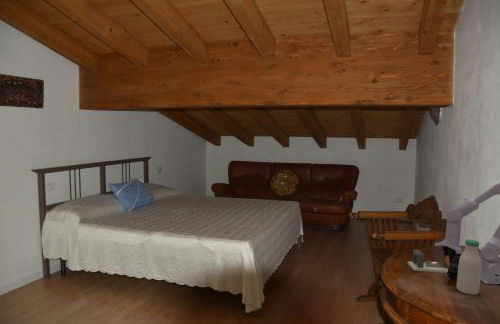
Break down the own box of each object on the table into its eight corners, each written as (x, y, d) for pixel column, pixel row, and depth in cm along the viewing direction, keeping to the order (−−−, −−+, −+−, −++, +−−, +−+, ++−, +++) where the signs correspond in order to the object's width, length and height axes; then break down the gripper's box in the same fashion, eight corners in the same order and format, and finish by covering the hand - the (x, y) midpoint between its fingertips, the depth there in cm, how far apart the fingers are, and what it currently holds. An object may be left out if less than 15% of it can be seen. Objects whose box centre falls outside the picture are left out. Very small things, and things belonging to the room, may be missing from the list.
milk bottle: (482, 296, 144) (487, 244, 143) (460, 293, 146) (464, 242, 144) (474, 288, 152) (479, 239, 150) (453, 285, 153) (458, 237, 152)
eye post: (423, 268, 169) (424, 254, 168) (417, 267, 169) (418, 254, 169) (417, 262, 176) (418, 249, 175) (412, 262, 176) (413, 249, 175)
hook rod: (452, 265, 173) (453, 254, 173) (456, 268, 169) (457, 257, 169) (424, 263, 174) (424, 253, 174) (427, 266, 170) (428, 255, 170)
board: (456, 273, 167) (456, 271, 167) (414, 270, 168) (414, 268, 168) (447, 266, 176) (447, 264, 176) (407, 263, 177) (407, 261, 177)
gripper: (437, 229, 178) (434, 258, 179) (450, 238, 163) (447, 269, 164) (452, 230, 177) (450, 259, 178) (468, 239, 163) (465, 270, 164)
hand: (450, 264), depth 171 cm, fingers closed on hook rod, 4 cm apart
